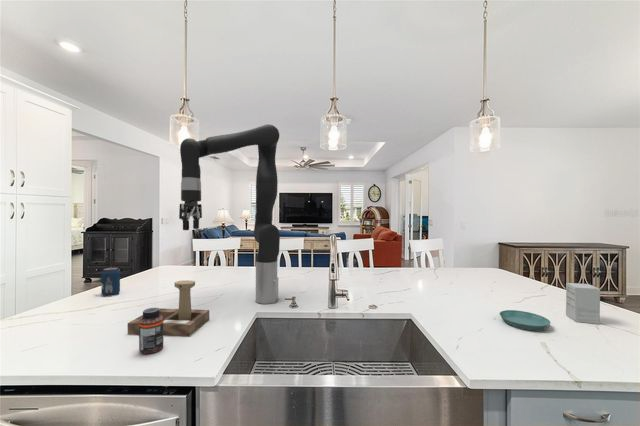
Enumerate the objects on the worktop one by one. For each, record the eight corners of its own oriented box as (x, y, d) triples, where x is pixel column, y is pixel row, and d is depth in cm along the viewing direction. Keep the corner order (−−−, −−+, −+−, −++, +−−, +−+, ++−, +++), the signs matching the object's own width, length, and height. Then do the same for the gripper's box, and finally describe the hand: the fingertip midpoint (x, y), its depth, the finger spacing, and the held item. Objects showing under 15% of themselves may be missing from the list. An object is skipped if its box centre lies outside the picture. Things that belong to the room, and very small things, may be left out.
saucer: (489, 320, 108) (490, 313, 108) (516, 314, 113) (516, 308, 113) (532, 336, 94) (533, 328, 94) (560, 329, 100) (560, 321, 100)
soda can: (116, 291, 140) (116, 266, 140) (122, 294, 136) (122, 268, 136) (99, 295, 135) (98, 268, 134) (104, 297, 131) (104, 270, 130)
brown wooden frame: (209, 319, 106) (209, 308, 106) (189, 336, 92) (189, 324, 92) (155, 317, 107) (155, 307, 107) (127, 334, 93) (127, 322, 93)
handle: (189, 330, 96) (189, 284, 96) (171, 329, 97) (171, 283, 97) (197, 324, 101) (197, 280, 101) (180, 323, 102) (180, 280, 102)
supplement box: (589, 317, 111) (589, 283, 110) (600, 324, 104) (601, 288, 103) (565, 315, 113) (565, 282, 113) (574, 322, 106) (575, 286, 106)
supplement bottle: (145, 345, 86) (145, 306, 86) (167, 344, 86) (167, 305, 86) (134, 355, 80) (134, 313, 80) (157, 354, 80) (157, 313, 80)
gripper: (191, 188, 113) (191, 230, 113) (207, 190, 127) (207, 228, 127) (172, 188, 113) (172, 230, 113) (190, 190, 127) (190, 228, 127)
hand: (191, 229), depth 120 cm, fingers open, 8 cm apart
